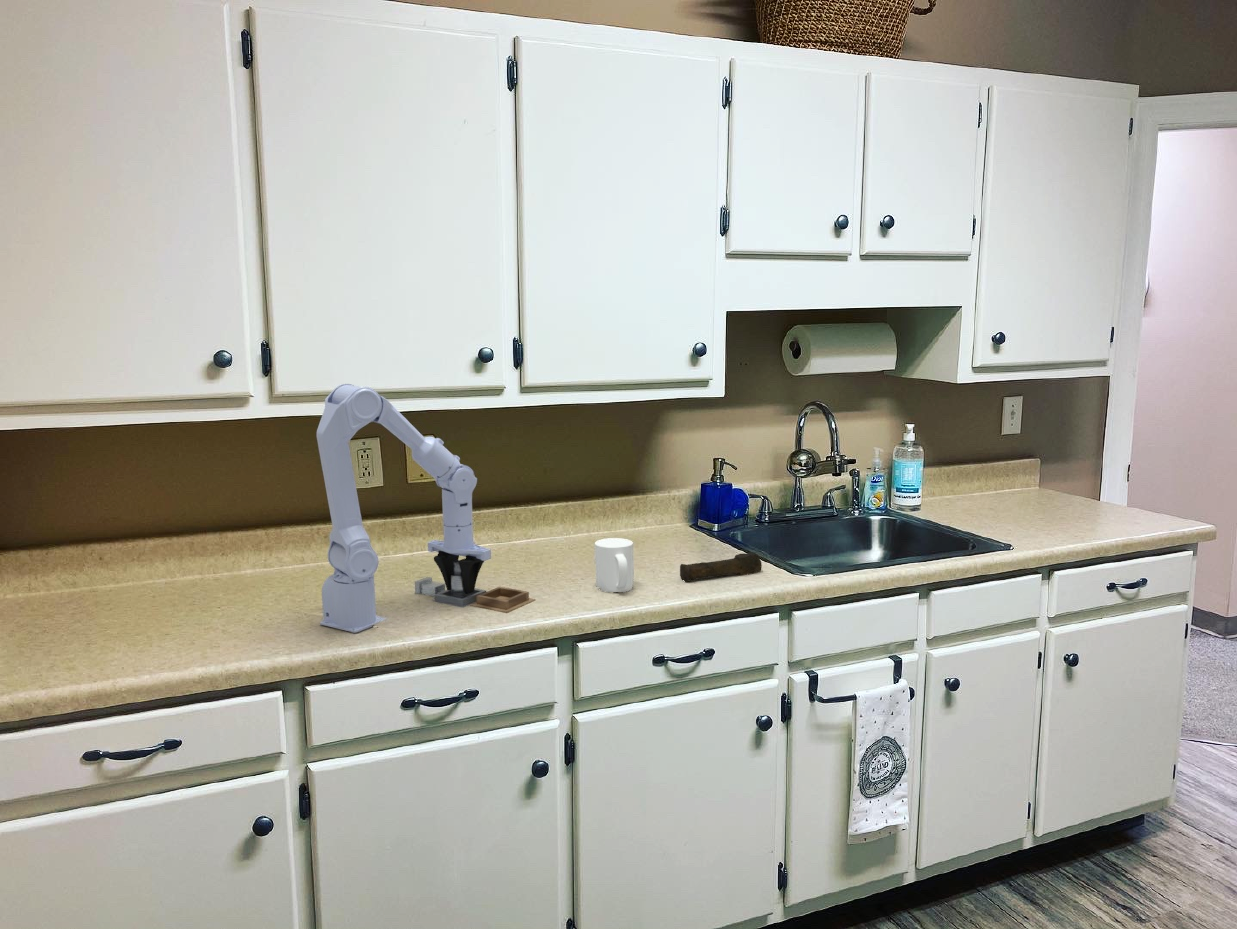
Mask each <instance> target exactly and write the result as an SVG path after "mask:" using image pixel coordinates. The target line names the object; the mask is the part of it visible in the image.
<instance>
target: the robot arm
mask: <svg viewBox="0 0 1237 929" xmlns="http://www.w3.org/2000/svg"><path fill="white" fill-rule="evenodd" d="M373 422H374V423H376V424H379V425H381V426H383V427H384V428H385V429H387V431H389V432H390V433H391V434H393V435H394V436H395V437H397V438H398V440H400V441H401V442H402V443H403V444H405V445H406V446H407V447H408V448H410V450H411V458H412V460H413V461H414V462H415V463H417V465H419V466H420V467H421V468H422V469H423V470H424V471H425V472H427V474H429V475H430V477H432V478H433V479H434V480H435V483H436V486H437V487H439V488H441V499H442V503H441V504H442V506H441V507H442V525H443V526H442V527H443V528H442V531H443V540H437V539H433V540H430V541H428V542H427V552H429V553H433V552H436V553H437V555H435V556H433V561H434V562H435V564H436V566H437V567H438V569H439V571H440V572H441V576H442V578H443V581H444V584H445V589H446V590H451V574H452V573H454V569H453V562H454V561H457V560H459V558H460V557H465V558H462V559H460V560H459V561H458V563H459V565H460V568H461V571H462V575H463V584H464V592H465V594H469V593H472V592H474V589H476V583H477V579H478V577H479V573H480V571H481V568H482V566H483V565H484V563H485V561H489V560H491V559H492V550H491V548H487V547H484V546H481V545H479V544H476V542H475V541H474V526H473V525H474V520H473V519H474V518H473V492H474V490H475V488H476V486H477V483H478V477H476V476H475V472H474V470H473V469H472V468H471V467H470V466H469V465H466V464H462V463H461V462H460V461H461V458H460V457H459V456H458V455H456V454H453V453H452V452H450V451H449V450H448V449H447V447H445V446H444V443H445V442H444V441H443V439H441V438H439V437H436V438H435V437H434V436H424V435H423V434H422V433H420V432H419V430H418V429H417V428H416V427H415V426H414V425H412V423H410V421H409V420H408V419H407V418H406V417H405V416H404V415H403V414H402V413H401V412H400V411H399V410H398V409H397V408H396V407H395V406H394V405H393V404H392V403H391V402H390V401H389V399H387V398H385V397H384V396H382V395H380V394H379V393H378V391H376V390H375V389H373V388H371V387H369V386H359V385H354V384H350V383H341V384H339V385H337V386H336V387H334V389H333V390H332V391H331V392H330V393H329V394H328V396H326V398H325V399H324V409H323V413H322V415H321V418H320V421H319V424H318V427H317V429H316V440H317V442H316V443H317V447H318V453H319V459H320V463H321V470H322V474H323V479H324V484H325V485H324V486H325V491H326V496H327V502H328V508H329V513H330V519H331V520H330V521H331V525H332V529H331V530H330V533H329V535H328V537H329V547H328V551H327V561H328V564H330V566H331V567H332V568H333V569H334V571H333V574H331V575H329V576H328V577H326V579H325V580H324V581H323V585H322V588H321V600H322V602H321V604H322V616H323V617H322V619H323V620H321V621H320V622H319V623H320V624H319V625H321V626H325V627H329V628H330V627H331V628H334V629H336V630H337V629H338V630H342V631H347V632H350V633H355V634H356V633H359V632H361V631H364V630H367V629H370V628H371V627H375V624H377V623H381V622H382V621H385V620H387V617H382V616H379V615H377V607H376V606H377V605H376V603H377V602H376V589H375V585H376V584H375V573H376V572H377V570H378V568H379V562H380V561H379V556H378V554H377V552H376V551H375V549H374V548H373V546H372V544H371V539H370V537H369V534H368V533H367V531H366V529H365V527H364V525H363V520H362V514H361V508H360V501H359V497H358V496H359V495H358V491H357V485H356V479H355V473H354V467H353V462H352V455H351V449H350V444H349V442H350V441H351V439H352V438H353V437H354V436H355V434H356V433H358V432H359V430H360V429H362V428H363V427H365V426H367V425H369V423H373Z"/></svg>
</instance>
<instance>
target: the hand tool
mask: <svg viewBox="0 0 1237 929" xmlns="http://www.w3.org/2000/svg"><path fill="white" fill-rule="evenodd" d="M762 566H763V565H762V560H761V558H760V556H759V555H758V554H757V553H756V552H747V553H744V552H743V553H739V554H736V555H734V557H733V558H729V559H728V558H727V559H722V560H714V561H707V562H705V561H701V562H695V563H689V564H684V563H681V564H680V566H679V577H680V579H682V581H683V580H684V581H685V583H688V582H689V581H692V582H695V580H699V579H705V578H706V579H707V578H713V577H714V578H715V577H721V576H727V575H737V576H747V574H748V575H752V574H756V573H758V572H761V571H762V569H763V568H762ZM684 581H683V582H684Z"/></svg>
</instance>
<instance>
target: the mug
mask: <svg viewBox="0 0 1237 929" xmlns="http://www.w3.org/2000/svg"><path fill="white" fill-rule="evenodd" d="M594 564H595V570H596V571H595V587H596V588H597V589H598V590H599V589H600V591H601V590H602V591H601V592H604V591H606V592H605V593H609V592H623V593H627V592H630V591H632V590H633V588H634V584H633V583H634V577H635V575H634V573H635V571H634V569H635V567H634V566H635V565H634V542H633V541H632V540H630V539H627V538H621V537H620V538H619V537H610V538H609V537H608V538H602V539H598V540H596V541H595V542H594ZM632 587H633V588H632ZM629 590H630V591H629ZM626 591H627V592H626Z"/></svg>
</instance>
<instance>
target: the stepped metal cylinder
mask: <svg viewBox="0 0 1237 929" xmlns="http://www.w3.org/2000/svg"><path fill="white" fill-rule="evenodd" d="M458 561H459V559H458V560H457V561H454V562H453V569H454V573H452V574H451V596H452V597H457V598H462V599H463V598H465V597H467V596H470V593H469V594H465V592H464V584H463V575H462V571H461V568H460V565H459V563H458Z"/></svg>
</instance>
